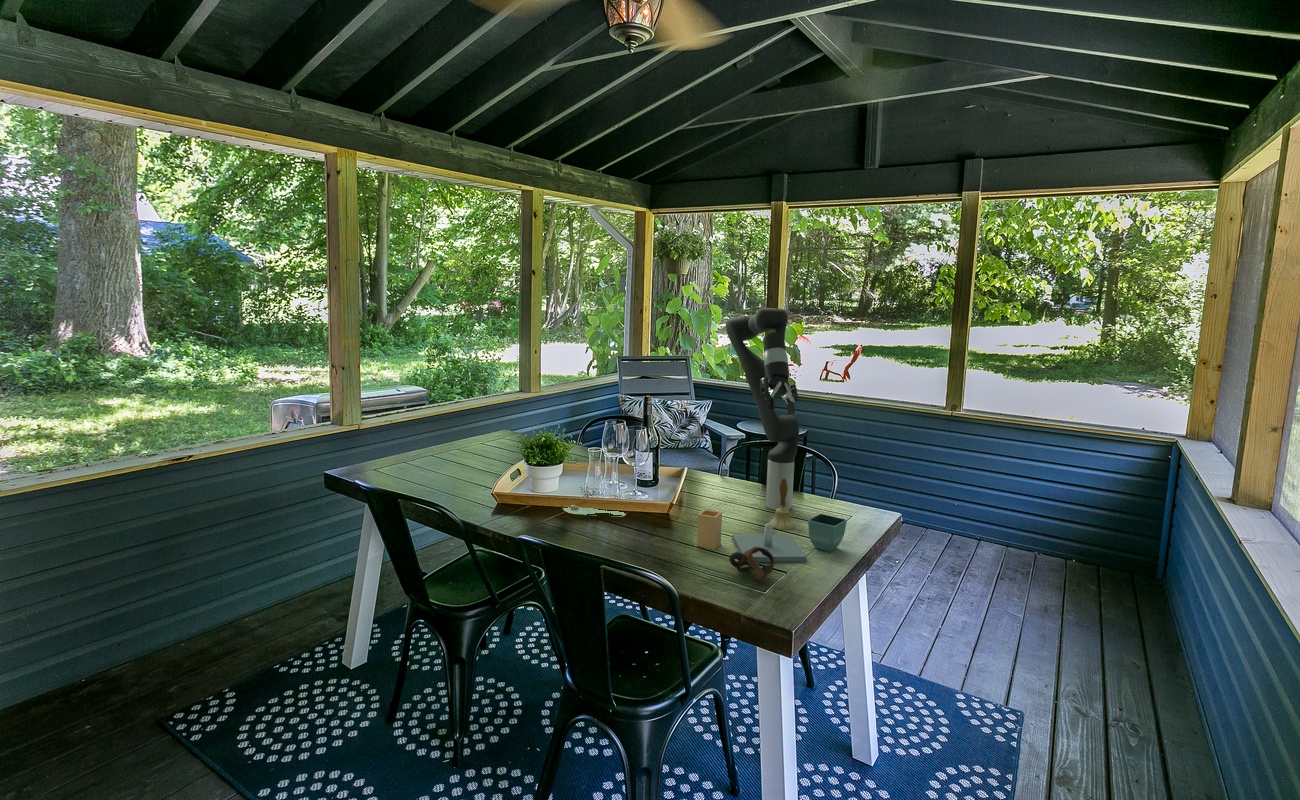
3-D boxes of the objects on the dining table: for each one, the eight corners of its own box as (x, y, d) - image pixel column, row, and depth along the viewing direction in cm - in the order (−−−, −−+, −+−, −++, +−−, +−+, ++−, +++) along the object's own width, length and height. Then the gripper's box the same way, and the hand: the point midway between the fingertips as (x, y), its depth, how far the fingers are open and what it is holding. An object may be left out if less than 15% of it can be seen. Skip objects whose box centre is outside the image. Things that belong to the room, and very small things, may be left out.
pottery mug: (761, 565, 187) (774, 546, 183) (767, 593, 180) (780, 573, 175) (722, 557, 185) (733, 537, 180) (726, 584, 177) (738, 564, 173)
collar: (696, 546, 199) (697, 514, 198) (703, 540, 204) (704, 509, 202) (714, 549, 197) (715, 517, 195) (720, 543, 202) (722, 512, 200)
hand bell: (794, 530, 214) (797, 483, 212) (768, 528, 216) (771, 481, 213) (794, 522, 222) (797, 476, 220) (769, 520, 224) (771, 474, 221)
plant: (641, 505, 238) (641, 481, 237) (616, 523, 219) (616, 497, 218) (579, 496, 248) (579, 472, 246) (550, 512, 229) (550, 487, 227)
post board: (731, 538, 206) (733, 513, 205) (788, 538, 207) (790, 513, 206) (744, 562, 188) (745, 534, 187) (806, 561, 190) (808, 534, 188)
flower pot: (818, 540, 206) (820, 512, 205) (845, 547, 201) (847, 519, 199) (805, 548, 199) (807, 519, 198) (833, 556, 194) (835, 526, 193)
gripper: (783, 372, 220) (788, 419, 215) (751, 364, 213) (756, 412, 207) (800, 365, 215) (806, 412, 209) (768, 356, 207) (773, 405, 201)
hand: (781, 412), depth 208 cm, fingers open, 8 cm apart
